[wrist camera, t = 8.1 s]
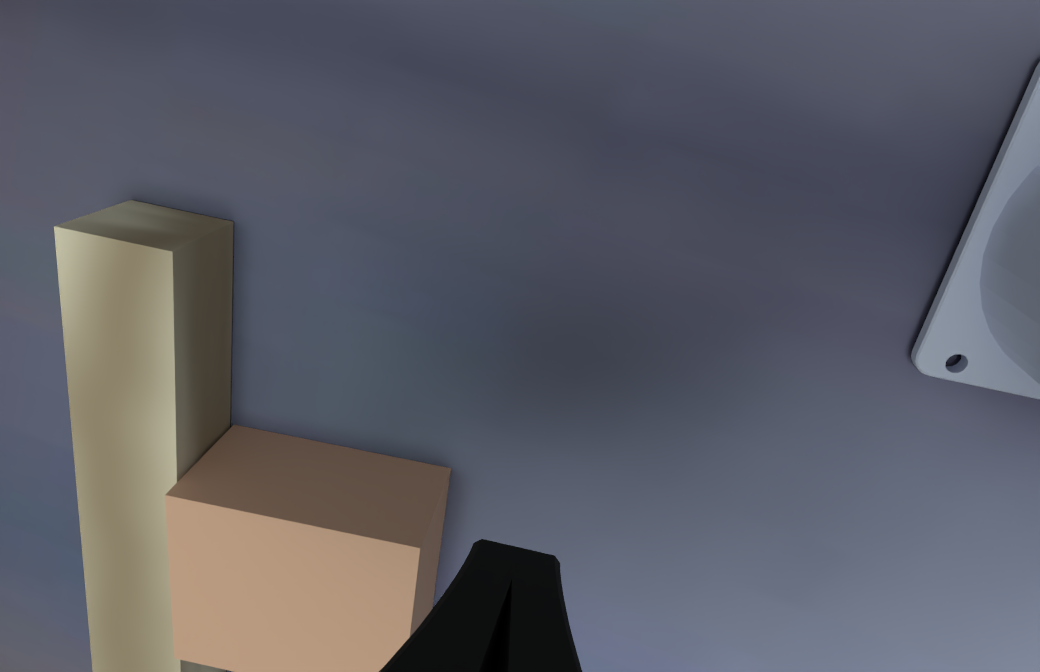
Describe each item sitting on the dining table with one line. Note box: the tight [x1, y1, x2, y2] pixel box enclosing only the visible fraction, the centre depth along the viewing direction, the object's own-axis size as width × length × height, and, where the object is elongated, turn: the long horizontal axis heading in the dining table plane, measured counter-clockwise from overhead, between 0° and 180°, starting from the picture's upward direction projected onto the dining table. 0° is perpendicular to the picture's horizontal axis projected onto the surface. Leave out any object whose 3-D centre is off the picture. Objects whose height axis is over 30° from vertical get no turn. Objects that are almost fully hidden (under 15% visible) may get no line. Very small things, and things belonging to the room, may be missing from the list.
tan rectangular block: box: [165, 425, 451, 672], centre depth 22 cm, size 7×6×4 cm
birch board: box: [54, 200, 234, 672], centre depth 23 cm, size 3×20×3 cm, turn 170°
